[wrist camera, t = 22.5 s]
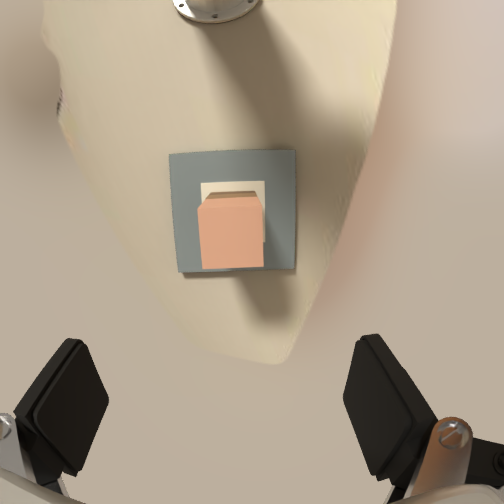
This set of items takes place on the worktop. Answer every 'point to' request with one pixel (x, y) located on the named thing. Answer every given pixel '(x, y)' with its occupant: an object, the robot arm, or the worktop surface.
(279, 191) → the baseplate
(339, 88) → the worktop surface
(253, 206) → the terracotta block
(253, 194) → the walnut block
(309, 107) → the worktop surface
